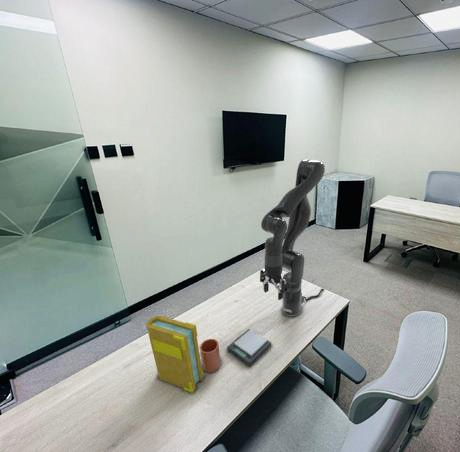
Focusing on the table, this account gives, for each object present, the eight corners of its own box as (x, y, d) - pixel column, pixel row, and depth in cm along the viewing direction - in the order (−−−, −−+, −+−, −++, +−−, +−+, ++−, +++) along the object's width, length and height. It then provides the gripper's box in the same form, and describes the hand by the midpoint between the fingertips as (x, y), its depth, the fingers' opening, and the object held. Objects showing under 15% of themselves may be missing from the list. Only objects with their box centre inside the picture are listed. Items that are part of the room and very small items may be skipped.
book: (204, 376, 100) (195, 324, 90) (192, 393, 94) (182, 339, 85) (167, 363, 105) (156, 313, 96) (154, 378, 99) (141, 326, 90)
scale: (249, 332, 121) (249, 326, 120) (271, 345, 114) (271, 340, 113) (227, 350, 111) (226, 344, 110) (249, 366, 104) (249, 361, 103)
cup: (213, 354, 109) (210, 336, 106) (224, 363, 106) (222, 344, 102) (199, 366, 104) (196, 346, 100) (210, 375, 100) (207, 356, 97)
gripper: (292, 264, 110) (291, 298, 115) (267, 254, 119) (267, 285, 124) (280, 271, 104) (279, 305, 110) (255, 259, 113) (255, 292, 119)
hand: (273, 295), depth 117 cm, fingers open, 8 cm apart
